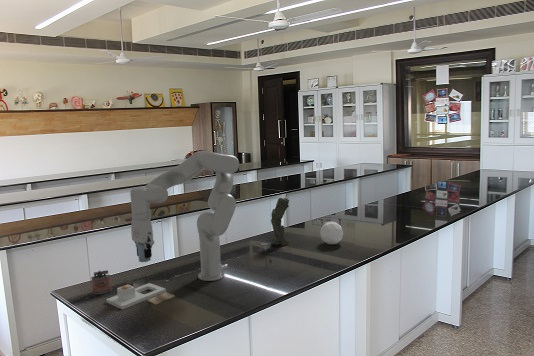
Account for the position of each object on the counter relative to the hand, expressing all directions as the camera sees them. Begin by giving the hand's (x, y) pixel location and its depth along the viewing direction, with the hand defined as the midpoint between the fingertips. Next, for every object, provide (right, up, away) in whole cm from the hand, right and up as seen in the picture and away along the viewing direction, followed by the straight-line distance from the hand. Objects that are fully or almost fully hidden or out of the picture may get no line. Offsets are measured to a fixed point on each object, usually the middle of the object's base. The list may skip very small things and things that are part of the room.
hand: (144, 255), depth 197 cm
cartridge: (0, -2, 0) cm, 2 cm away
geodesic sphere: (+92, -5, +67) cm, 114 cm away
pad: (+8, -18, -4) cm, 20 cm away
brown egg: (-6, -16, -5) cm, 18 cm away
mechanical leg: (+62, -5, +69) cm, 93 cm away
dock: (-3, -18, -1) cm, 18 cm away
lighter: (-21, -18, +6) cm, 28 cm away
